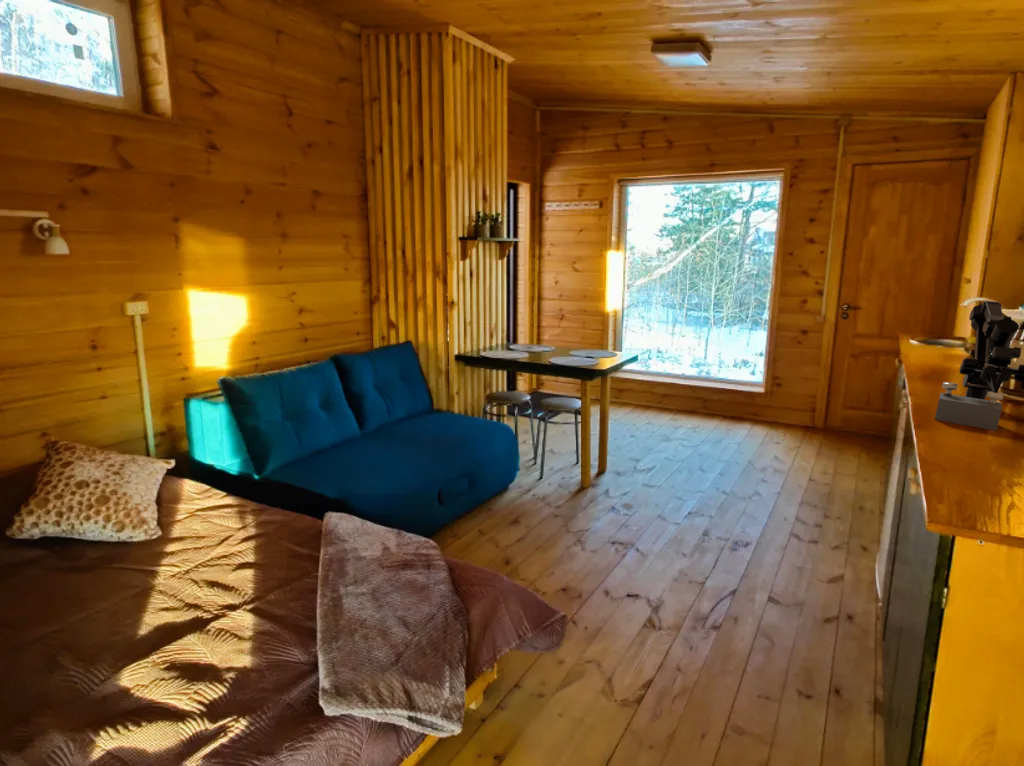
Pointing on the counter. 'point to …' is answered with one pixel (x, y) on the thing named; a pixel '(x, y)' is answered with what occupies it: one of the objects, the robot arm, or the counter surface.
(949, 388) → the grey knob
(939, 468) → the counter surface
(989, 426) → the console
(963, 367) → the robot arm
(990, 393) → the cream knob
